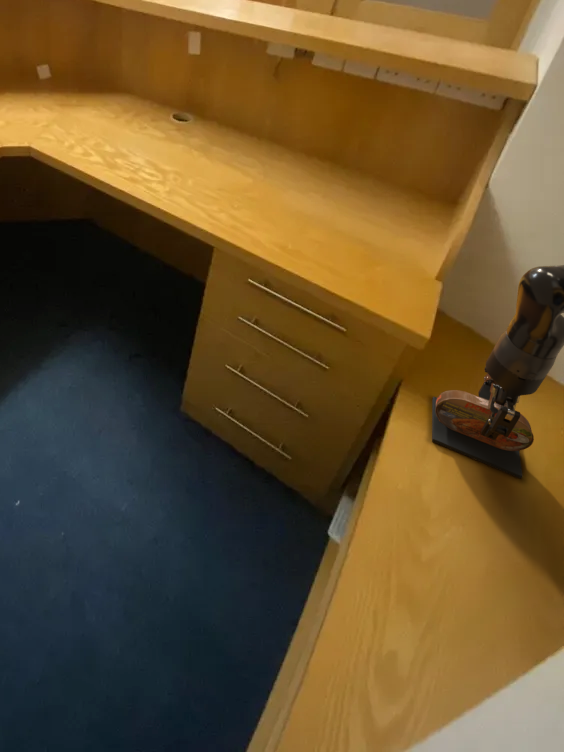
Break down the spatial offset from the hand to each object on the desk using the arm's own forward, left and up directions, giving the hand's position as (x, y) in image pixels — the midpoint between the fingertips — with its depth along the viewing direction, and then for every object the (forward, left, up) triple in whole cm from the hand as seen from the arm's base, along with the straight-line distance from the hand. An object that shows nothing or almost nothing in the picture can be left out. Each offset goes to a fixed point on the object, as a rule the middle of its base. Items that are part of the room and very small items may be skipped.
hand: (486, 416), depth 94 cm
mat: (0, 0, -6) cm, 6 cm away
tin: (0, 0, -6) cm, 6 cm away
